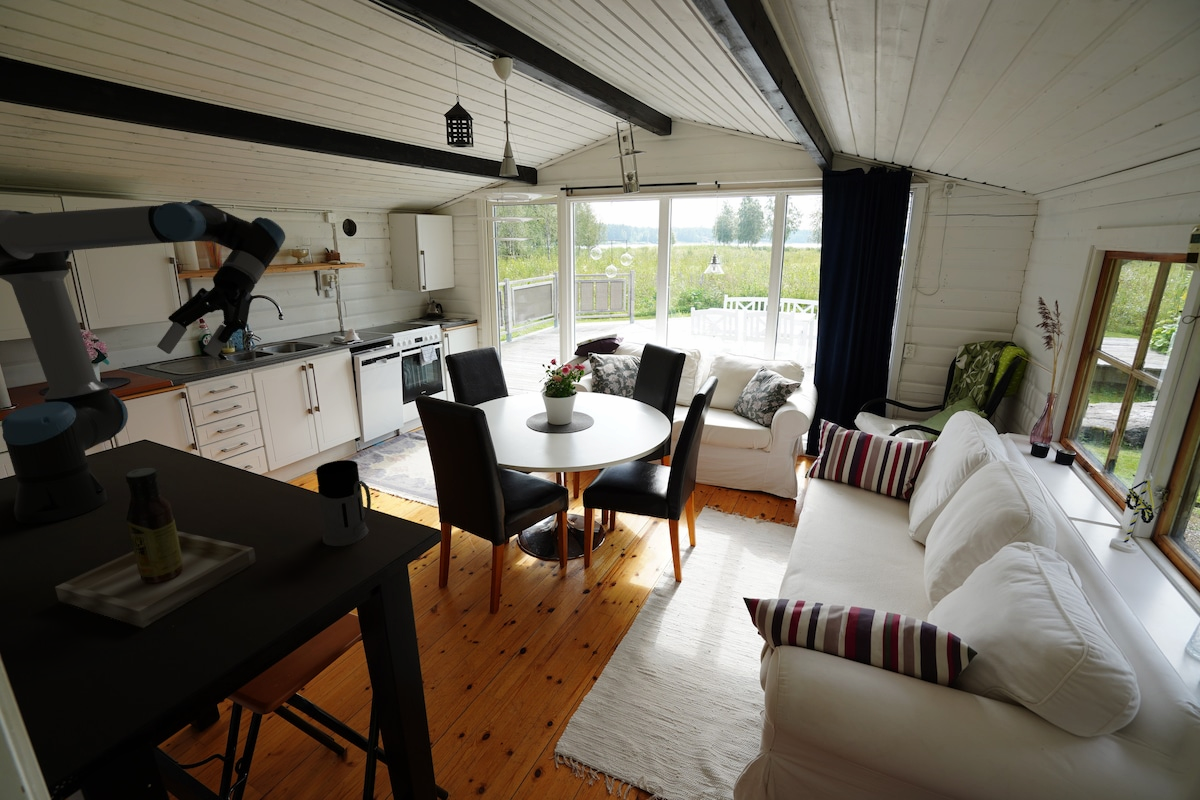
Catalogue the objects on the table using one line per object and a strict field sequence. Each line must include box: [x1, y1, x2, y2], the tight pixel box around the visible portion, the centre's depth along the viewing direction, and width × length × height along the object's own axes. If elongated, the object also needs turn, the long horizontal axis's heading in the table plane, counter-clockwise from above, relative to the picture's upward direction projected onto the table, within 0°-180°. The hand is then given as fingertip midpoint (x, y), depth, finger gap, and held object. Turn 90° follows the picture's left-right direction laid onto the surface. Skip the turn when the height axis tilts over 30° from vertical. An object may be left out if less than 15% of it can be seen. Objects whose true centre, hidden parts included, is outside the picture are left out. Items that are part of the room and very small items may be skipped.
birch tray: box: [54, 530, 257, 629], centre depth 100 cm, size 20×20×3 cm
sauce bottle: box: [125, 467, 183, 584], centre depth 97 cm, size 6×6×20 cm
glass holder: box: [315, 459, 372, 547], centre depth 112 cm, size 9×14×15 cm, turn 56°
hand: (186, 352), depth 119 cm, fingers open, 13 cm apart
